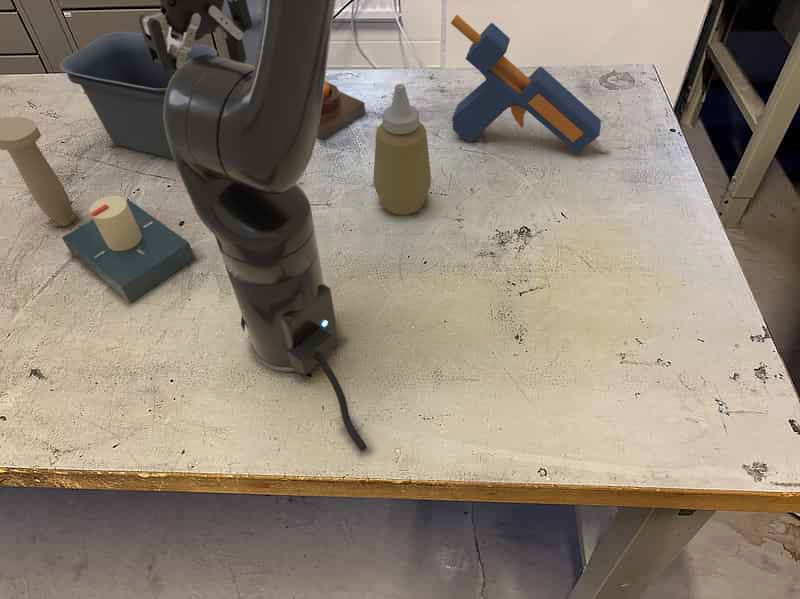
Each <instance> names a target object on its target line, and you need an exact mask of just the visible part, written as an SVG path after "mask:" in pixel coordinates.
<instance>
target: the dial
mask: <svg viewBox="0 0 800 599" xmlns="http://www.w3.org/2000/svg"><path fill="white" fill-rule="evenodd" d="M126 200H127V199H125V198H124V197H123V196H120V195H107V196H104V197H101V198H99V199H96V201H95V202H93V203H92V205H91V206H90V207H89V215H90V217H91V218H92V220H94V222H95V224H96V226H97V227H98V229H99V231H100V233H101V235H102V237H103V239H104V240H105V242H106V244H107V246H108V248H110V249H111V250H113V251H125V250H129V249H131V248H133V247H135V246H136V245H137V244H138V243H139V242H140V241H141V239H142V233H141V231H140V229H139V227H138V225H137V223H136V220H135V218H134V216H133V214H132V212H131V210H130V208H129V205H128V203H127V201H126Z"/></svg>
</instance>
